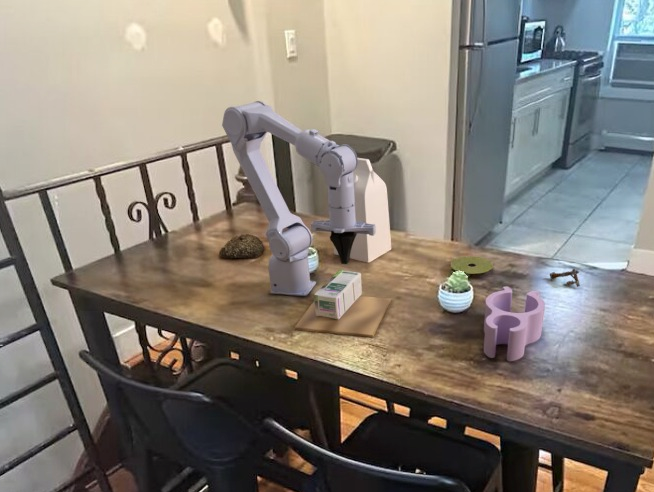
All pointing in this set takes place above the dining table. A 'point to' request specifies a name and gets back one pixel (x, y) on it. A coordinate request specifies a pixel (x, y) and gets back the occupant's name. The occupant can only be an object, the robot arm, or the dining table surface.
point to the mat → (472, 265)
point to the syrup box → (338, 294)
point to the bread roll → (242, 247)
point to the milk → (370, 213)
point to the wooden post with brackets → (573, 272)
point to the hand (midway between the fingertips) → (345, 262)
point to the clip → (512, 323)
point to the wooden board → (348, 318)
